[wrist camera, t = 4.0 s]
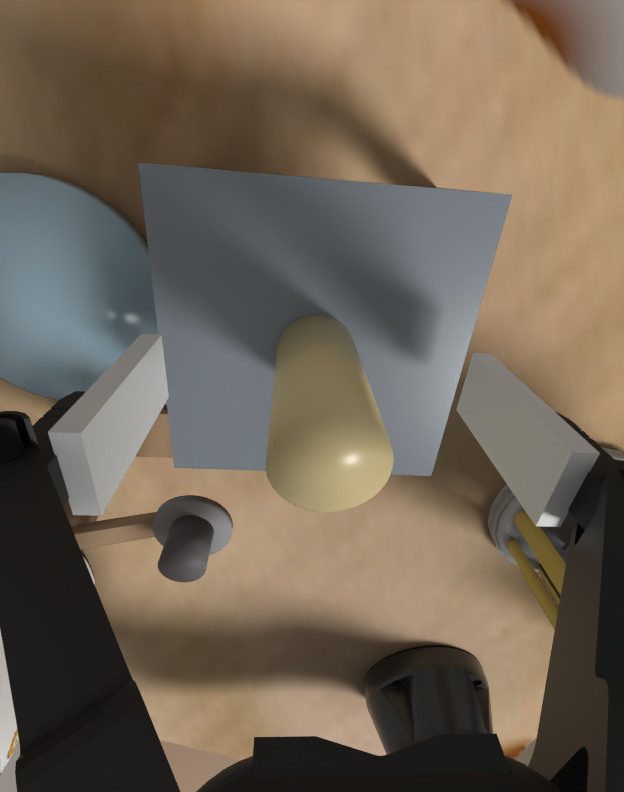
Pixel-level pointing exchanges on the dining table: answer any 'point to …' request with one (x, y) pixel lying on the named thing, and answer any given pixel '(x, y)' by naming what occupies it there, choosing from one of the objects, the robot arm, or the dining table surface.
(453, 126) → the dining table surface
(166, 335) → the cover frame
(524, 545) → the lantern
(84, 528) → the balance
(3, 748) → the milk container
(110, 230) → the plate
